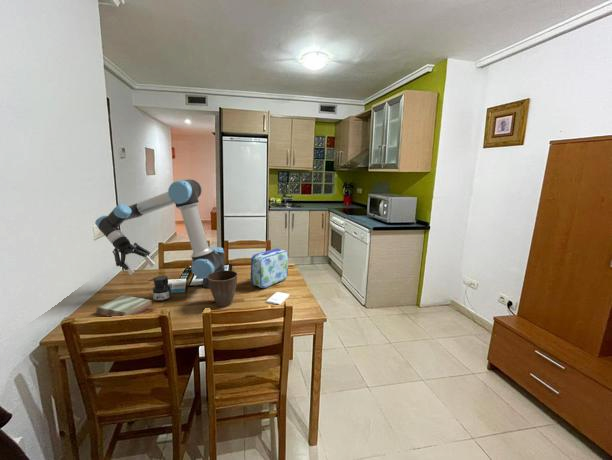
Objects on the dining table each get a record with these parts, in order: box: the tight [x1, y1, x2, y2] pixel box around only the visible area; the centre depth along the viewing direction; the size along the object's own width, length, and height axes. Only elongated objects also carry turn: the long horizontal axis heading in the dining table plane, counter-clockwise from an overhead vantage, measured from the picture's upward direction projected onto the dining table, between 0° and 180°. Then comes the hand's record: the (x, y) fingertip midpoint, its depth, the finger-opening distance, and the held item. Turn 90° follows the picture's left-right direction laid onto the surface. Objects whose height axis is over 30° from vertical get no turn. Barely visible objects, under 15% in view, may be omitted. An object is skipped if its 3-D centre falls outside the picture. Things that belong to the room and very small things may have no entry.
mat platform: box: [96, 294, 153, 317], centre depth 143 cm, size 18×15×4 cm
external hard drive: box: [265, 291, 290, 305], centre depth 157 cm, size 2×8×12 cm
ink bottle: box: [152, 275, 172, 303], centre depth 154 cm, size 10×9×12 cm
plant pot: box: [207, 269, 238, 308], centre depth 149 cm, size 15×15×16 cm
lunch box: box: [250, 248, 289, 289], centre depth 177 cm, size 26×11×21 cm, turn 143°
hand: (143, 269), depth 155 cm, fingers open, 13 cm apart
